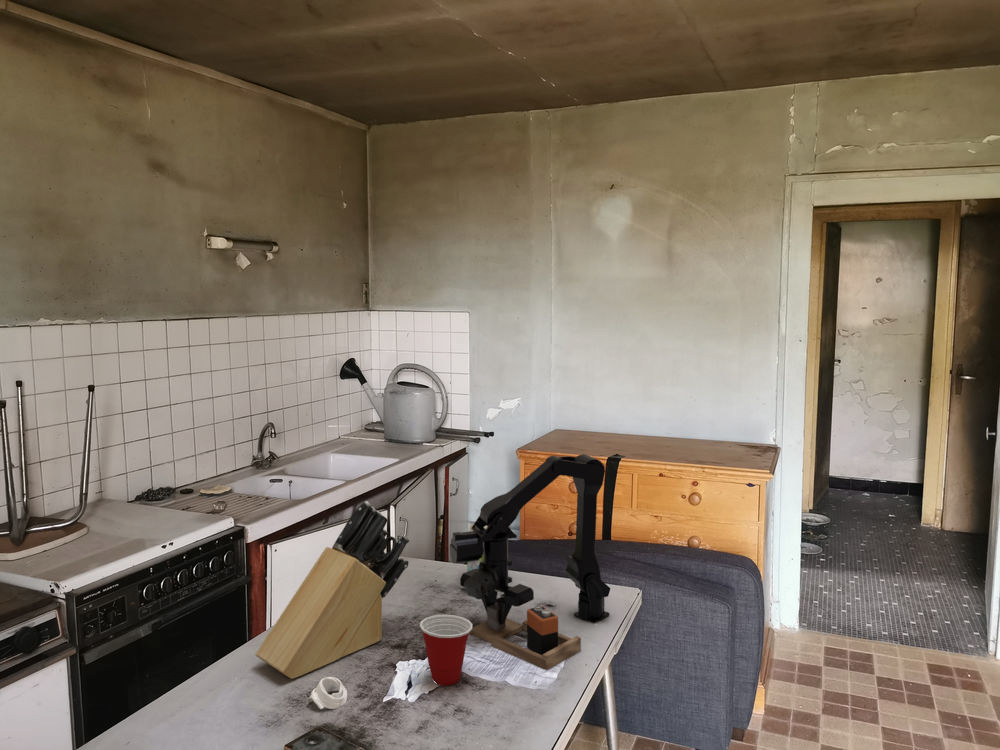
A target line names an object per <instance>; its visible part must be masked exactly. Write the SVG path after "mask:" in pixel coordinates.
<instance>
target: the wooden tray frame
mask: <svg viewBox="0 0 1000 750" xmlns="http://www.w3.org/2000/svg"><path fill="white" fill-rule="evenodd" d="M486 618H487V619H486V621H484V622H482V623H480V624H477V625H475V626H472V630H471V631H470V633H469V635H472V636H474V637H476V638H479V639H482V640H483V641H485V642H488V643H490V644H491V646H492V647H494V648H496V649H499V650H501V651H502V652H505V653H508V654H510V655H512V656H514V657H517V658H518V657H519V659H521V660H523V661H525V662H528V663H530V664H532V665H534V666H537V667H539V668H540V669H543V670H545V669H546V671H548V670H550V669H551V668H553V667H555V666H556V665H558V664H560V663H562V662H563V660H564V661H566V660H567V659H569V658H570V657H572V656H574V655H575V654H577V653H579V652H581V651H582V637H580V636H579V635H578V636H577V635H576V636H574V637H570V636H567V635H565V634H564V635H563V634H561V633H559V632H558V646H557V647H556V648H554V649H552V650H550V651H548V652H546V653H545V654H543V655H540V654H538V653H535V652H533V651H531V650H530V649H529V648H526V647H524V646H521V645H518V644H516V643H514V642H512V641H509V640H507V639H508V638H509V637H511V636H513V635H516V634H518V633H520V632H521V631H524V632H526V633H527V619H526V620H523V621H522V624H521V623H519V622H516V621H513V620H511V619H508V618H506V620H505V622H504V624H502V625H500V623H499V612H498V604H497V603H495V604H493V605H491V606H488V607H487V612H486ZM561 661H562V662H561Z"/></svg>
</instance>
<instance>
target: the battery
mask: <svg viewBox="0 0 1000 750" xmlns="http://www.w3.org/2000/svg"><path fill="white" fill-rule="evenodd" d="M526 621H527V632H526V646H527V649H528V650H531V651H533V652H535V653H538V654H540V655H543V654H545V653H546V652H548V651H550V650H552V649H554V648H556V647H557V646H559V645H558V633H559V616H558V615H557V614H555V613H554V612H553V611H551V609H548V608H546V607H545V606H544V605H541V604H535V605H534V607H531V608H527V610H526Z"/></svg>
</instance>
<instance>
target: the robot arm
mask: <svg viewBox="0 0 1000 750" xmlns="http://www.w3.org/2000/svg"><path fill="white" fill-rule="evenodd" d="M605 474H606V467H605V464H603V462H602V461H601V460H599V459H596V458H595V457H593V456H591V455H588V454H585V453H581V454H579V455H577V456H568V455H567V456H566V455H565V456H563V455H562V456H557V455H551V456H548V457H547V458H546V459H545V461H544V462H543V463H542V464H540V465H539V466H538V467H537V468H536V469H534V470H533V471H532V472H531V473H529V475H527V476H526V477H525V478H524V479H523V480H522V481H520V482H518V484H517V485H515V486H514V487H513V488H512V489H511V490H509V491H508V492H506V493H503V494H501V495H497V496H495V497H494V498H492V499H490V500H489V501H487V502H485V503H484V504H483V505H482V506H481V508H480V513H479V515H478V517H477V519H475V522H474V523H473V524H474V525H473V526H472V528H471V529H472V530H473V531H470V532H469V531H465V532H463V531H462V532H461V531H460V532H459V531H457V532H455V531H454V532H453V533H452V538H451V540H450V544H449V553H450V559H451V560H452V563H453V564H462V563H467V562H471V561H478V560H479V559H480V558H482V555H483V561H482V562H480V564H479V569H473V570H471V571H468V572H467V571H465V572H463V573H462V574H461V576H460V578H459V579H460V584H459V585H460V586H461V587H463V588H465V591H466V595H467V596H469V597H472V598H475V599H476V600H481V602H482V604H483V608H484V610H485V612H486V613H487V607H488V606H491V605H493V604H495V603H497V604H498V612H499V623H500V625H502V624H504V622H505V620H506V619H508V618H507V617H508V616H509V613H510V611H511V609H512V607H521V606H522V605H525V604H527V603H529V602H531V601H534V600H535V597H534V594H535V593H534V589H533V588H532V587H529V586H527V585H524V584H522V583H518V584H517V585H514V586H513V585H509V584H511V583H513V577H511V576H509V567H510V566H512V565H513V560H510V559H509V539H516V538H517V537H518V535H517V534H516V533H515V532H514V531H513V530H512V528H511V527H510V526H511V525H512V524H513V523H514V521H515V520H516V519H517V517H518V516H519V513H520V511H521V510H522V509H523V508H524V506H526V505H527V504H528V503H529V502H531V501H532V499H535V497H536V496H537V495H538V494H540V493H541V492H542V491H543V490H544V489H546V487H548V486H549V485H550V484H551V483H553V482H554V481H555V480H556V479H558V478H559V477H560V476H562V477H563V476H564V477H565V476H566V477H569V478H570V477H571V478H572V482H573V483H574V486H575V490H576V493H577V494H576V497H577V498H576V519H575V520H576V521H575V523H576V525H575V526H576V527H575V529H576V530H575V548H574V549H575V550H574V551H573V552H572V555H566V569H565V572H566V573H567V575H568V579H570V580H571V581H572V582H573V583H574V585H575V587H576V588H578V589H579V592H578V600H577V601H578V603H577V606H578V607H577V611H576V612H574V613H573V617H576V618H578V619H581V620H584V621H587V622H590V623H593V624H596V623H598V622H600V621H602V620H603V619H605V618H607V617H610V612H608V611H605V598H608V597H609V595H610V592H611V588H610V586H608V585H607V584H606V583H605V582H604V581H603V580H602V575H601V568H600V564H599V561H598V557H597V555H596V537H597V536H596V532H597V511H598V510H597V507H598V505H597V504H598V494H599V492H600V490H601V488H602V486H603V485H604V480H605V479H604V478H605ZM486 525H487V526H488V527H487V529H485V528H484V527H485V526H486ZM497 592H500V593H501V594H499V597H498V594H497Z"/></svg>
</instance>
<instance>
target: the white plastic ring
mask: <svg viewBox="0 0 1000 750" xmlns="http://www.w3.org/2000/svg"><path fill="white" fill-rule="evenodd" d="M318 682H319V683H318V685H316V688H314V689H313V690H312V691H311V693H310V696H309V697H308V699H307V703H312V702H314V704H316V706H317V707H318V708H319V709H320V710H322V709H324V708H326V709H329V710H336V709H339V708H340V707H341V706H343V705H345V703H346V702H347V698H348V691H347V688H345V686H344V685H343V683H342V682H341V680H340V679H339V678H337V677H333V676H327V677H323V678H322V679H321V680H320V681H318ZM335 689H336V690H337V691H338V692H333V693H332V694H329V693H331V692H332V691H333V690H335Z"/></svg>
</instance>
